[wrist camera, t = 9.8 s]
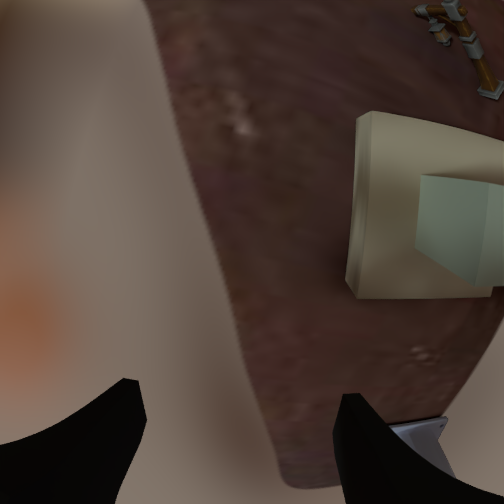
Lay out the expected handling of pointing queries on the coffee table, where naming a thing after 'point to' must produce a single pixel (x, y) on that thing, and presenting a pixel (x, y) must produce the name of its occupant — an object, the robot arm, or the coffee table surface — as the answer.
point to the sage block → (463, 228)
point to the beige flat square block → (408, 203)
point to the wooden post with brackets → (470, 42)
